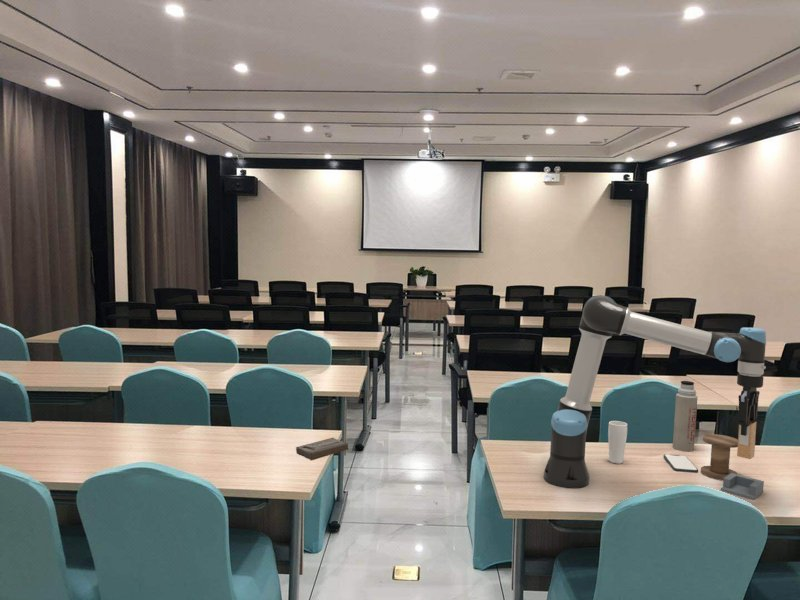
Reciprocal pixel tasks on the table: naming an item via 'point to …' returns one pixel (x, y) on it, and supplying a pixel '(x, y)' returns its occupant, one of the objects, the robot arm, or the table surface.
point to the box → (321, 448)
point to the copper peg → (750, 449)
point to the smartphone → (680, 463)
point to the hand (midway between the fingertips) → (746, 442)
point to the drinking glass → (617, 441)
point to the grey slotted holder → (742, 486)
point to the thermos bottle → (685, 417)
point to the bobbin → (719, 456)
